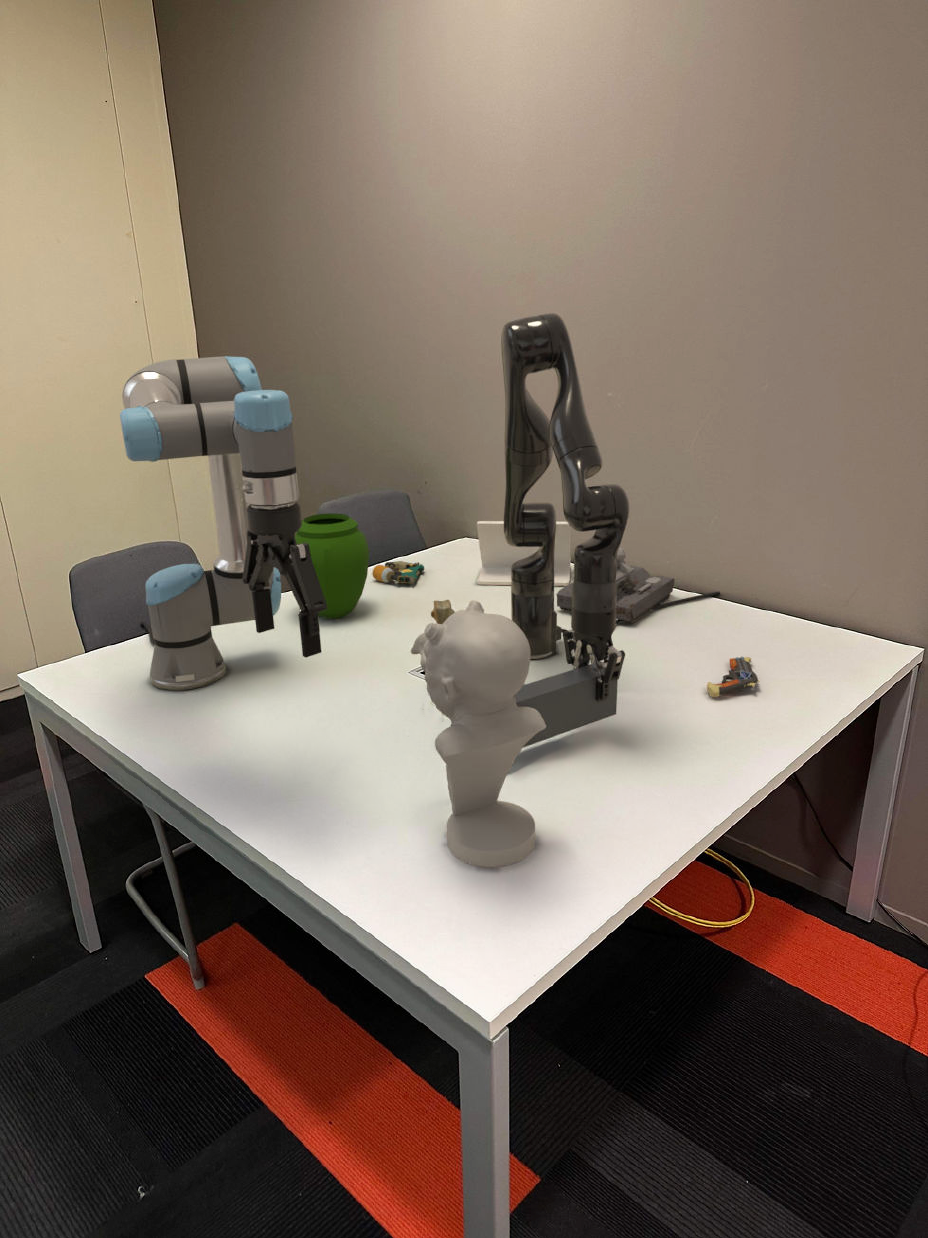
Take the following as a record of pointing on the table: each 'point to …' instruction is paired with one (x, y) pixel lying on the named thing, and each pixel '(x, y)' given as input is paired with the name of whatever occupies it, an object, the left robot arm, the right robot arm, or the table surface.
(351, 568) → the vase
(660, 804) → the table surface
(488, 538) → the tablet stand
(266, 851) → the table surface
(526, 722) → the bust sculpture
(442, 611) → the sculpture
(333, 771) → the table surface
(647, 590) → the toy
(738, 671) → the toy gun
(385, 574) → the spray gun
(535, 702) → the bar
